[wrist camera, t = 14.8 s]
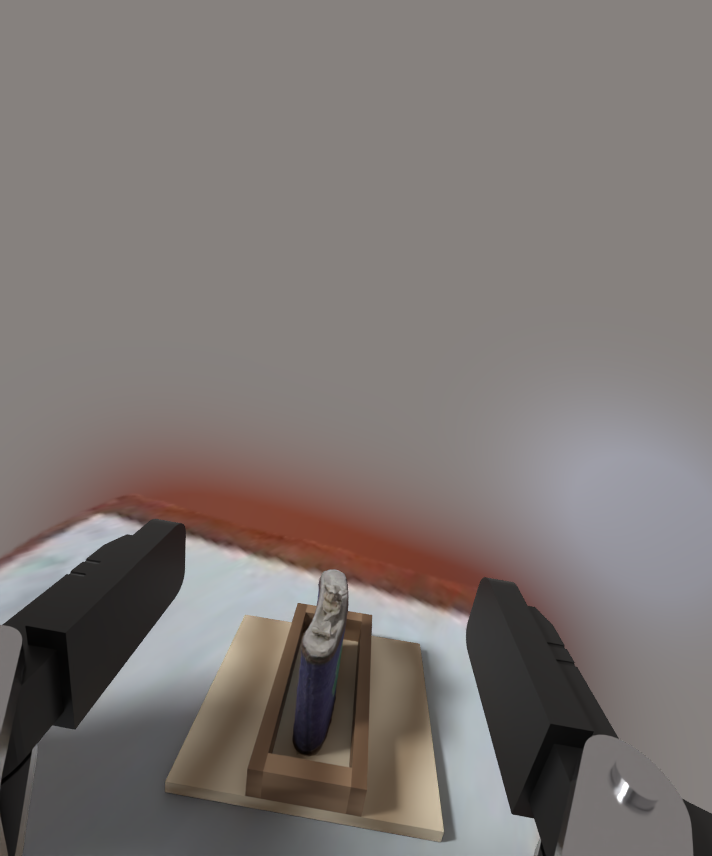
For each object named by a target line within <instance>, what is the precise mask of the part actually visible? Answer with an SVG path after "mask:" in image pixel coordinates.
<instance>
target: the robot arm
mask: <svg viewBox="0 0 712 856" xmlns="http://www.w3.org/2000/svg"><path fill="white" fill-rule="evenodd" d="M185 542H186V529H185V526H184V524H182V523H176V522H170V521H165V520H159V519H152V520H151V521H149V522H148V523H147V524H145V525H144V526H143V527H142V528H141V529H140V530H138V531H137V532H136V533H135V534H134V535H125V536H122V537H120V538H118V539H116V540H114V541H111V542H109V543H107V544H105V545H103V546H102V547H101V548H100V549H98V550H97V551H96V552H94V553H93V554H92V555H91V556H89V557H88V558H87V559H86V561H85V562H82V563H80V564H79V565H78V566H77V567H75V568H74V569H73V570H72V571H71V573H70V574H66V575H65V576H64V577H63V578H61V579H60V580H59V581H58V582H56V583H55V584H54V585H53V586H51V587H50V588H49V589H47V590H46V591H45V592H44V593H42V594H41V595H40V596H39V597H37V598H36V599H35V600H33V601H32V602H31V603H30V604H28V605H27V606H26V607H25V608H23V609H22V610H21V611H19V612H18V613H17V614H16V615H14V616H13V617H12V618H11V619H9V620H8V621H7V622H6V623H4V624H3V625H0V856H22V853H23V847H24V840H25V833H26V827H27V820H28V813H29V807H30V800H31V793H32V786H33V780H34V773H35V766H36V760H37V750H38V747H37V743H38V742H39V741H40V740H41V738H42V737H43V736H44V735H45V733H46V732H47V731H48V730H49V729H50V727H51V726H52V725H54V726H59V727H65V728H70V729H76V728H77V726H78V725H79V724H80V722H81V721H82V720H83V718H84V717H85V716H86V714H87V713H88V712H89V710H90V709H91V708H92V707H93V705H94V704H95V703H96V701H97V700H98V699H99V697H100V696H101V695H102V693H103V692H104V691H105V689H106V688H107V687H108V685H109V684H110V683H111V682H112V680H113V679H114V678H115V676H116V675H117V674H118V672H119V671H120V670H121V668H122V667H123V666H124V664H125V663H126V662H127V660H128V659H129V658H130V656H131V655H132V654H133V653H134V651H135V650H136V649H137V647H138V646H139V645H140V643H141V642H142V641H143V639H144V638H145V637H146V635H147V634H148V633H149V631H150V630H151V629H152V628H153V626H154V625H155V624H156V622H157V621H158V620H159V618H160V617H161V616H162V614H163V613H164V612H165V610H166V609H167V608H168V606H169V605H170V604H171V602H172V601H173V600H174V599H175V597H176V596H177V594H178V592H179V590H180V588H181V585H182V583H183V579H184V574H185ZM466 644H467V650H468V654H469V658H470V662H471V665H472V669H473V673H474V676H475V680H476V684H477V687H478V691H479V695H480V699H481V702H482V706H483V710H484V713H485V717H486V721H487V724H488V728H489V732H490V736H491V739H492V743H493V747H494V750H495V754H496V758H497V761H498V765H499V769H500V772H501V776H502V780H503V784H504V787H505V791H506V795H507V798H508V802H509V806H510V809H511V813H512V814H513V815H519V816H524V817H529V818H534V819H535V822H536V826H537V829H538V832H539V835H540V839H539V841H538V844H537V846H536V849H535V853H534V856H712V814H711V813H709V812H707V811H705V810H703V809H701V808H699V807H697V806H695V805H693V804H691V803H689V802H687V801H685V800H684V799H682V798H681V796H680V795H679V793H678V792H677V790H676V788H675V787H674V786H673V784H672V783H671V782H670V780H669V779H668V778H667V777H666V776H665V774H664V773H663V772H662V771H661V770H660V769H659V768H658V767H657V766H656V765H655V764H654V763H653V762H652V761H651V760H650V759H649V758H647V757H646V756H645V755H644V754H642V753H641V752H640V751H638V750H637V749H636V748H634V747H632V746H631V745H629V744H627V743H626V742H624V741H622V740H620V739H619V738H618V737H617V735H616V733H615V731H614V730H613V728H612V726H611V725H610V723H609V721H608V719H607V718H606V716H605V714H604V713H603V711H602V709H601V707H600V706H599V704H598V702H597V700H596V699H595V697H594V695H593V694H592V692H591V690H590V689H589V687H588V685H587V683H586V681H585V680H584V678H583V676H582V675H581V673H580V671H579V670H578V668H577V667H575V665H574V661H573V659H572V657H571V656H570V654H569V652H568V651H567V649H565V648H564V644H563V642H562V641H561V638H560V637H559V635H558V633H557V632H556V630H555V628H554V626H553V625H552V624H551V623H550V622H549V621H548V620H547V619H546V618H545V617H544V616H543V615H542V614H541V613H540V612H539V611H538V610H537V609H536V608H535V607H531V606H527V604H526V602H525V600H524V598H523V596H522V595H521V593H520V591H519V589H518V587H517V586H516V584H515V583H513V582H509V581H503V580H497V579H491V578H486V577H484V578H483V579H482V580H481V581H480V584H479V587H478V590H477V593H476V597H475V600H474V603H473V607H472V610H471V613H470V617H469V620H468V624H467V630H466Z"/></svg>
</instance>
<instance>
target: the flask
mask: <svg viewBox="0 0 712 856" xmlns="http://www.w3.org/2000/svg"><path fill="white" fill-rule="evenodd" d="M318 585H319V593H318V601H317V607H316V611H315V614H314V617H313V619H312V622H311V624H310V626H309V627H308V629H307V630H306V632H305V635H304V637H303V639H302V648H301V660H300V662H301V663H300V669H299V681H298V687H297V698H296V711H295V721H294V727H293V736H292V742H293V745H294V748H295V749H296V753H297V755H298V754H301V755H304V756H307V757H310V756H312V755H316V754H317V753H318V752H319V751H320V749H321V748H322V745H323V743H324V742H325V740H326V738H327V734H328V730H329V727H330V724H331V722H332V715H333V711H334V704H335V700H336V686H337V679H338V674H339V666H340V659H341V653H342V645H343V639H344V632H345V626H346V620H347V614H348V584H347V579H346V577H345V575H344V573H342V572H340V571H338V570H327V571H324V572H323V573H322V575H321V577H320V580H319V584H318Z"/></svg>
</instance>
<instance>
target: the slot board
mask: <svg viewBox="0 0 712 856" xmlns="http://www.w3.org/2000/svg"><path fill="white" fill-rule="evenodd" d="M316 607H317V606H313V605H307V604H301V603H298V604H297V607H296V611H295V614H294V617H293V621H292V622H286V621H280V620H274V619H268V618H261V617H255V616H249V615H245V616H244V618H243V620H242V622H241V624H240V627H239V629H238V631H237V633H236V635H235V637H234V639H233V641H232V643H231V645H230V647H229V649H228V652H227V654H226V656H225V658H224V660H223V662H222V664H221V666H220V668H219V670H218V672H217V675H216V677H215V679H214V681H213V683H212V685H211V687H210V689H209V691H208V693H207V695H206V697H205V700H204V702H203V704H202V706H201V708H200V710H199V712H198V714H197V716H196V718H195V720H194V722H193V725H192V727H191V729H190V731H189V733H188V735H187V737H186V739H185V741H184V743H183V745H182V747H181V750H180V752H179V754H178V756H177V758H176V760H175V762H174V764H173V766H172V768H171V770H170V772H169V775H168V777H167V779H166V781H165V792H167V793H173V794H178V795H184V796H189V797H195V798H200V799H206V800H211V801H217V802H222V803H228V804H233V805H239V806H244V807H250V808H255V809H261V810H266V811H272V812H277V813H283V814H288V815H294V816H299V817H305V818H310V819H316V820H321V821H327V822H332V823H338V824H343V825H349V826H354V827H360V828H365V829H371V830H376V831H382V832H387V833H393V834H398V835H404V836H409V837H415V838H420V839H426V840H432V841H437V842H441V840H442V837H443V833H444V828H443V821H442V813H441V805H440V797H439V789H438V782H437V774H436V766H435V758H434V750H433V743H432V735H431V727H430V719H429V711H428V704H427V696H426V688H425V680H424V672H423V664H422V657H421V649H420V644H418V643H412V642H406V641H400V640H394V639H388V638H382V637H376V636H371V634H372V615H368V614H362V613H356V612H350V611H348V614H347V620H346V626H345V632H344V639H343V645H342V653H341V659H340V666H339V674H338V679H337V686H336V700H335V704H334V711H333V715H332V722H331V724H330V727H329V730H328V734H327V738H326V740H325V742H324V743H323V745H322V748H321V749H320V751H319V752H318V753H317V754H316V755H312V756H310V757H307V756H304V755H301V754H298V755H297V753H296V749H295V748H294V745H293V742H292V736H293V727H294V721H295V711H296V698H297V687H298V681H299V669H300V663H301V662H300V660H301V648H302V639H303V637H304V635H305V632H306V630H307V629H308V627H309V626H310V624H311V622H312V619H313V617H314V614H315V611H316Z"/></svg>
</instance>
